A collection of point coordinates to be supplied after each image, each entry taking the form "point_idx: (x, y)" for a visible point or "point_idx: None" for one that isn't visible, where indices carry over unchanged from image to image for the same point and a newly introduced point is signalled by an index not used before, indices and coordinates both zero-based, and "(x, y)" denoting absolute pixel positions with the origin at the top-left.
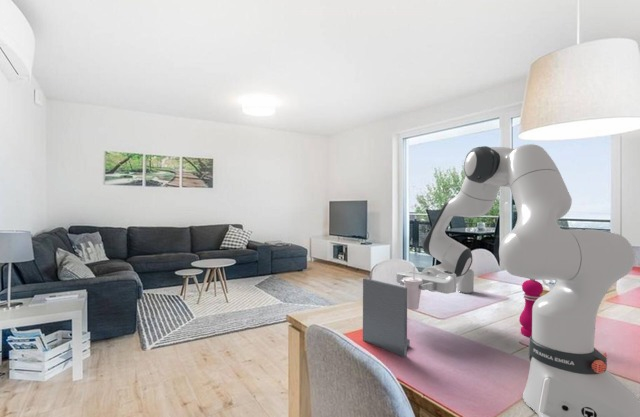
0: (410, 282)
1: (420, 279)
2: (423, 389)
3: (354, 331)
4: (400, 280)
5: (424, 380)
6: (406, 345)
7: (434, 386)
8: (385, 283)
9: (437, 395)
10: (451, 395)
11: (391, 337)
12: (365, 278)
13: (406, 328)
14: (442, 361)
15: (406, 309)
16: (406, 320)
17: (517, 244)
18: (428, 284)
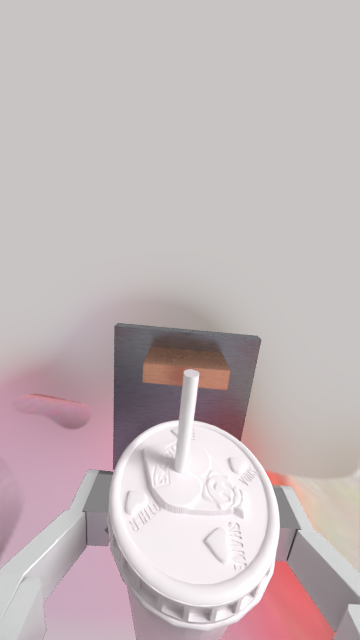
0: (169, 426)
1: (140, 537)
2: (66, 405)
3: None
4: (288, 486)
5: (66, 421)
6: (113, 448)
7: (49, 417)
8: (182, 330)
9: (46, 404)
10: (25, 412)
11: None
12: (257, 338)
13: (114, 415)
14: (20, 509)
15: (115, 376)
16: (114, 399)
17: None
18: (44, 530)
